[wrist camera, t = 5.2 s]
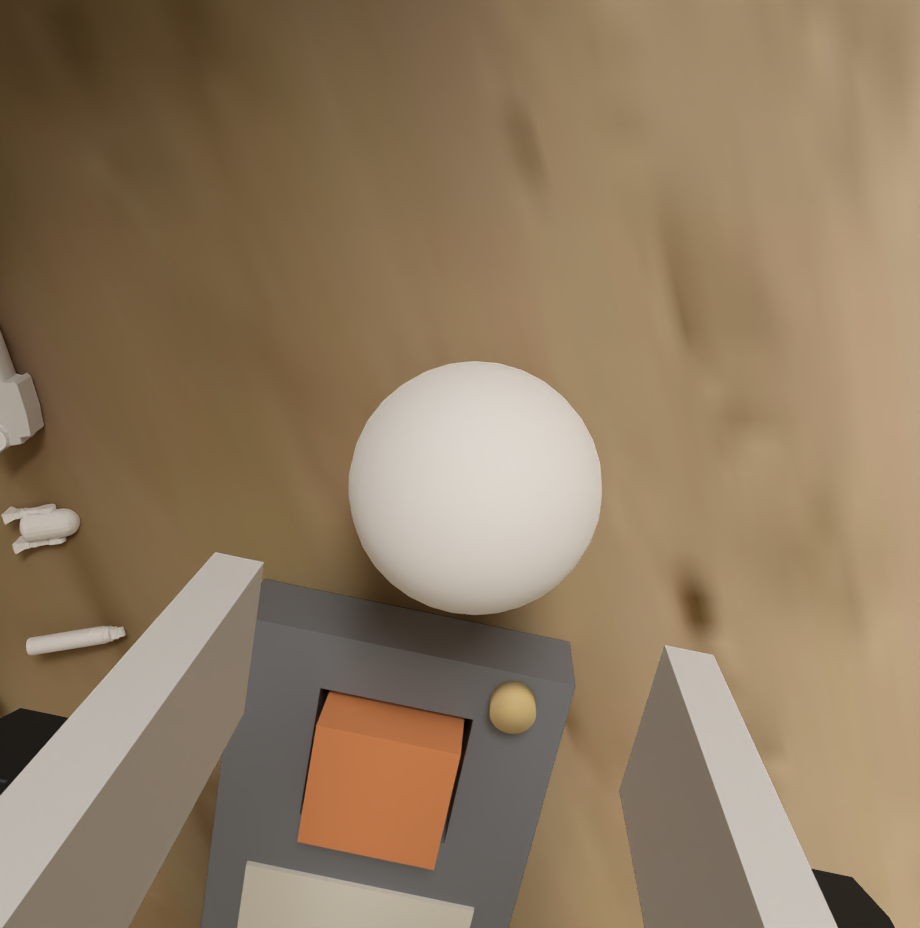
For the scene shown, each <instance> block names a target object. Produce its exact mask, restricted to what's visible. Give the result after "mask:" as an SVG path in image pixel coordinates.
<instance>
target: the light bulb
mask: <svg viewBox="0 0 920 928" xmlns="http://www.w3.org/2000/svg"><path fill="white" fill-rule="evenodd" d="M348 497H349V503H350V509H351V515H352V520H353V523H354V526H355V529H356V531H357V534H358V536H359V539H360V541H361V544H362V547H363V549H364V550H365V552H366V553H367V555H368V556H369V558H370V560H371V561H372V563H373V564H374V566H375V567H376V568H377V569H378V570H379V571H380V572H381V574H382V575H383V576H384V577H385V578H386V579H387V580H388V581H389V582H390V583H391V584H392V585H394V586H395V587H396V588H398V589H399V590H401V591H402V592H403V593H405V594H406V595H407V596H409V597H411V598H413V599H415V600H417V601H419V602H421V603H423V604H425V605H427V606H429V607H433V608H436V609H440V610H443V611H447V612H451V613H458V614H469V615H482V614H495V613H501V612H504V611H508V610H512V609H516V608H519V607H522V606H524V605H526V604H528V603H530V602H532V601H534V600H537V599H539V598H541V597H542V596H544V595H545V594H546V593H548V592H549V591H550V590H552V589H553V588H554V587H556V586H557V585H559V584H560V583H561V582H562V580H563V579H564V578H565V577H566V576H567V575H568V574H569V573H570V572H571V571H572V570H573V569H574V567H575V566H576V565H577V563H578V562H579V560H580V558H581V557H582V555H583V553H584V552H585V550H586V549H587V547H588V545H589V544H590V542H591V540H592V537H593V534H594V531H595V528H596V526H597V523H598V520H599V514H600V507H601V499H602V483H601V470H600V462H599V458H598V455H597V452H596V448H595V445H594V441H593V439H592V437H591V435H590V434H589V432H588V430H587V428H586V426H585V424H584V422H583V420H582V419H581V417H580V416H579V415H578V414H577V413H576V412H575V410H574V409H573V408H572V407H571V406H570V404H569V403H568V402H567V401H566V400H565V398H564V397H563V396H562V395H560V394H559V393H558V392H557V391H555V390H554V389H553V388H552V387H550V386H549V385H548V384H547V383H545V382H544V381H542V380H540V379H539V378H537V377H535V376H533V375H531V374H529V373H527V372H525V371H523V370H520V369H517V368H513V367H510V366H506V365H503V364H499V363H491V362H479V361H470V362H461V363H452V364H447V365H444V366H441V367H438V368H435V369H431V370H428V371H426V372H424V373H422V374H420V375H418V376H417V377H415V378H413V379H411V380H409V381H408V382H406V383H404V384H403V385H401V386H400V387H399V388H397V389H396V390H395V391H394V392H393V393H392V394H390V395H389V396H388V397H387V398H386V399H385V400H383V401H382V402H381V404H380V405H379V406H378V408H377V409H376V410H375V412H374V413H373V414H372V415H371V417H370V418H369V419H368V421H367V423H366V425H365V427H364V429H363V431H362V433H361V435H360V437H359V439H358V441H357V444H356V447H355V451H354V455H353V459H352V463H351V467H350V471H349V490H348Z"/></svg>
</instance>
